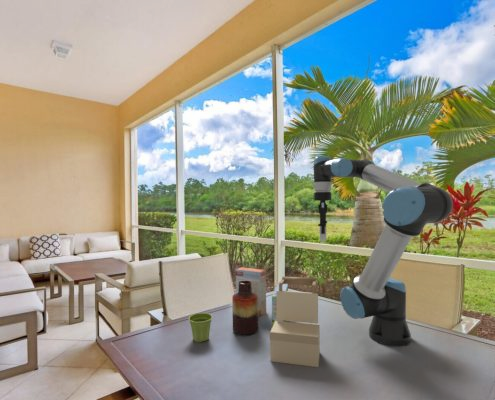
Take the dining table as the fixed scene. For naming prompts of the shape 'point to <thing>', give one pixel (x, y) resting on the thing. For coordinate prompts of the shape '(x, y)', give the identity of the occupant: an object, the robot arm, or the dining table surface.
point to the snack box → (284, 288)
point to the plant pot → (200, 326)
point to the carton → (295, 343)
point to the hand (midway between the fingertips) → (323, 239)
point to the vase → (245, 310)
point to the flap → (297, 301)
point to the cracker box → (254, 284)
